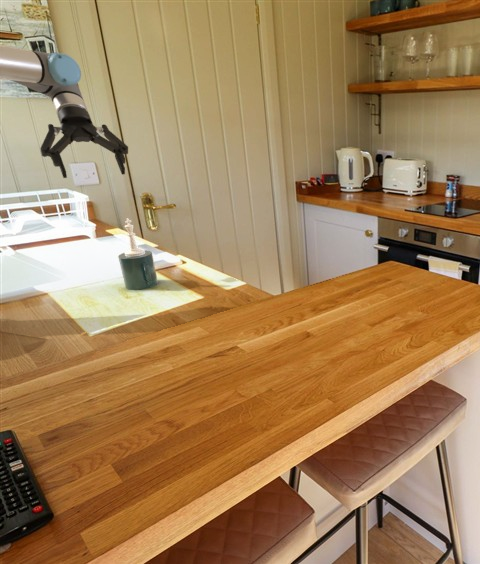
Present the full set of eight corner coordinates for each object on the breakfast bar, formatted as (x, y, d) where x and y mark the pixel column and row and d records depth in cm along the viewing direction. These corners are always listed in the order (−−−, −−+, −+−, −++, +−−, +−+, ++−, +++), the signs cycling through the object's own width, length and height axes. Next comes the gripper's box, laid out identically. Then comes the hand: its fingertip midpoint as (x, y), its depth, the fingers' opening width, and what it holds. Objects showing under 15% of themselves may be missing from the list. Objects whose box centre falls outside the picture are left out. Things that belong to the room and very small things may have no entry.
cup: (120, 285, 119) (113, 254, 116) (150, 277, 125) (144, 248, 122) (136, 294, 113) (129, 262, 110) (166, 285, 119) (160, 255, 116)
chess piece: (120, 256, 115) (111, 219, 111) (135, 250, 119) (127, 216, 116) (135, 257, 114) (127, 221, 110) (149, 252, 118) (142, 217, 115)
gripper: (123, 124, 133) (144, 178, 128) (19, 123, 117) (39, 185, 112) (123, 106, 127) (146, 161, 122) (14, 102, 111) (35, 166, 107)
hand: (95, 173), depth 117 cm, fingers open, 13 cm apart
